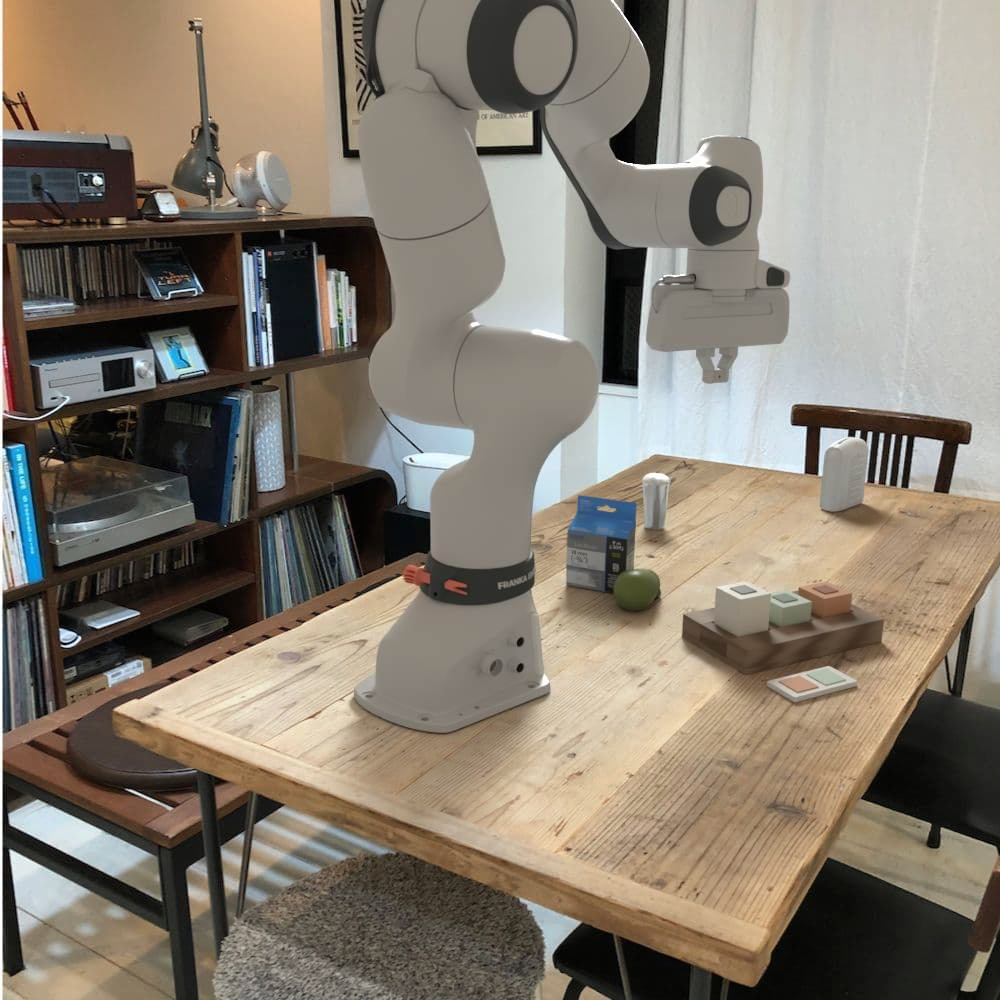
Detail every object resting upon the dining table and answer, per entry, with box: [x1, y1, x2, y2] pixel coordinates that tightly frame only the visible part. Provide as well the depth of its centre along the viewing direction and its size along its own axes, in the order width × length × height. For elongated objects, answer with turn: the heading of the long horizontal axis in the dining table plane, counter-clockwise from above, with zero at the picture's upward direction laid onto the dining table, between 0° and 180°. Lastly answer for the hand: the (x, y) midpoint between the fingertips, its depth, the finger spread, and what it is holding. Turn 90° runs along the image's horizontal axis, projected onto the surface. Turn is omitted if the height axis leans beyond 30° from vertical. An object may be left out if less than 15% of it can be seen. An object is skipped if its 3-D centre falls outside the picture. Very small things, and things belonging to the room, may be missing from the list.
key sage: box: [769, 589, 812, 627], centre depth 125 cm, size 4×4×5 cm
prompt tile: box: [766, 665, 858, 703], centre depth 114 cm, size 9×4×1 cm, turn 116°
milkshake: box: [642, 471, 675, 531], centre depth 168 cm, size 4×5×10 cm
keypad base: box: [681, 590, 885, 676], centre depth 126 cm, size 21×12×3 cm, turn 116°
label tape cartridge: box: [565, 494, 637, 594], centre depth 142 cm, size 9×4×12 cm, turn 65°
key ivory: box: [714, 581, 772, 637], centre depth 122 cm, size 4×4×5 cm
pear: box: [613, 568, 662, 611], centre depth 137 cm, size 6×5×10 cm
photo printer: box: [819, 436, 869, 513], centre depth 181 cm, size 10×4×12 cm, turn 134°
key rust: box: [797, 581, 853, 618], centre depth 128 cm, size 4×4×5 cm
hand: (715, 382), depth 133 cm, fingers closed
